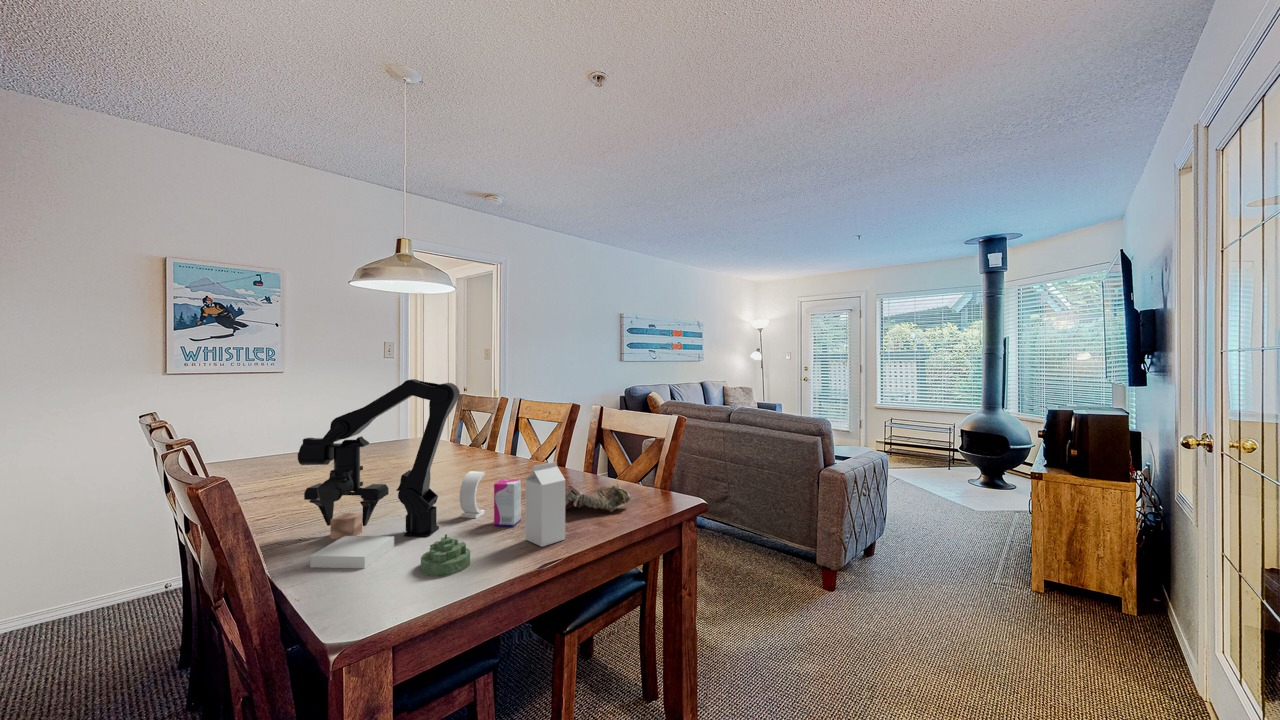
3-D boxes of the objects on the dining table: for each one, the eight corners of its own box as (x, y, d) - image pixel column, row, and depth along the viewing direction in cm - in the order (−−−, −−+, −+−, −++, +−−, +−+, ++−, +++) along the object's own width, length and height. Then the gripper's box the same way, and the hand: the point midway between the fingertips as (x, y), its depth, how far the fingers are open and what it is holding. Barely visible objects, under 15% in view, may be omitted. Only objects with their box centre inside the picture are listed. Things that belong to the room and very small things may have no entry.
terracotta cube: (362, 532, 128) (362, 513, 128) (350, 539, 123) (350, 519, 123) (343, 532, 128) (343, 513, 128) (330, 539, 123) (330, 519, 123)
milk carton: (565, 539, 123) (565, 463, 123) (541, 547, 118) (542, 468, 118) (548, 532, 128) (548, 459, 128) (524, 540, 123) (525, 463, 123)
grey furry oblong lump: (616, 496, 161) (616, 472, 161) (637, 509, 147) (637, 484, 147) (542, 507, 151) (542, 481, 150) (556, 523, 137) (556, 495, 136)
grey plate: (394, 546, 118) (394, 536, 118) (364, 568, 106) (364, 556, 106) (344, 546, 119) (344, 535, 119) (310, 567, 107) (310, 555, 107)
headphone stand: (485, 512, 144) (485, 471, 144) (474, 519, 139) (474, 476, 138) (470, 511, 145) (470, 471, 145) (459, 518, 139) (459, 475, 139)
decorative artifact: (454, 553, 115) (412, 567, 107) (455, 523, 115) (412, 535, 107) (479, 565, 108) (435, 581, 101) (479, 533, 108) (435, 546, 101)
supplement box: (521, 520, 138) (521, 479, 138) (514, 527, 132) (514, 484, 132) (501, 519, 139) (501, 478, 139) (493, 526, 133) (493, 483, 133)
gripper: (287, 471, 118) (287, 536, 118) (364, 472, 117) (364, 537, 117) (319, 461, 129) (319, 521, 129) (389, 462, 128) (389, 522, 128)
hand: (347, 525), depth 126 cm, fingers open, 9 cm apart
